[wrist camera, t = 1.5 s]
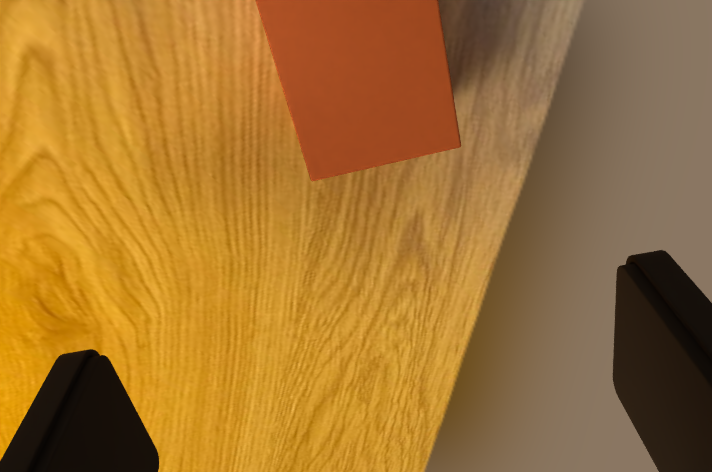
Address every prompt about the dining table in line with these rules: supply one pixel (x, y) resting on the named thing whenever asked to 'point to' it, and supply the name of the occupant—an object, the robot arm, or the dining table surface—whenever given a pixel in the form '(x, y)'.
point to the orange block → (362, 80)
